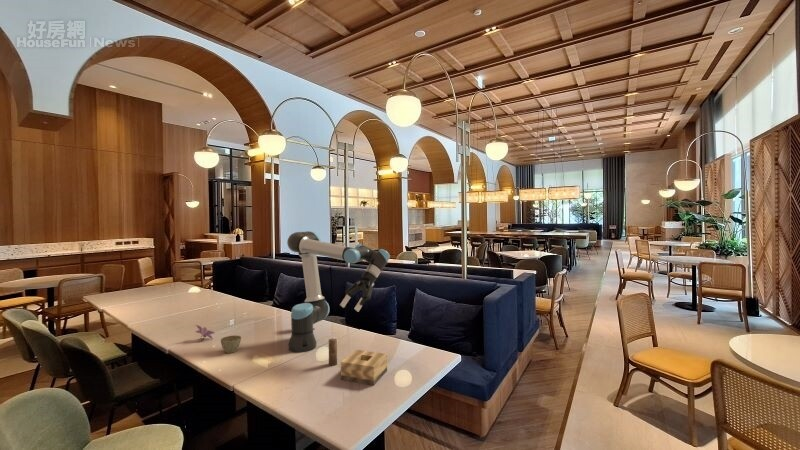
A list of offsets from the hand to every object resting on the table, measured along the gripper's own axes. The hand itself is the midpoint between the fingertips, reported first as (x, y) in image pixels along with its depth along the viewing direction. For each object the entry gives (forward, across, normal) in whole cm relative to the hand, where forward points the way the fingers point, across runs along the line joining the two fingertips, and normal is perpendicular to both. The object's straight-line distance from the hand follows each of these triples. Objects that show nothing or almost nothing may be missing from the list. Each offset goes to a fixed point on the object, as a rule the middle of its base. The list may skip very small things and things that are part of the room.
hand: (348, 308), depth 174 cm
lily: (+50, +82, +21) cm, 98 cm away
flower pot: (+47, +52, +15) cm, 72 cm away
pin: (+26, +1, -11) cm, 28 cm away
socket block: (+23, -19, -15) cm, 33 cm away
